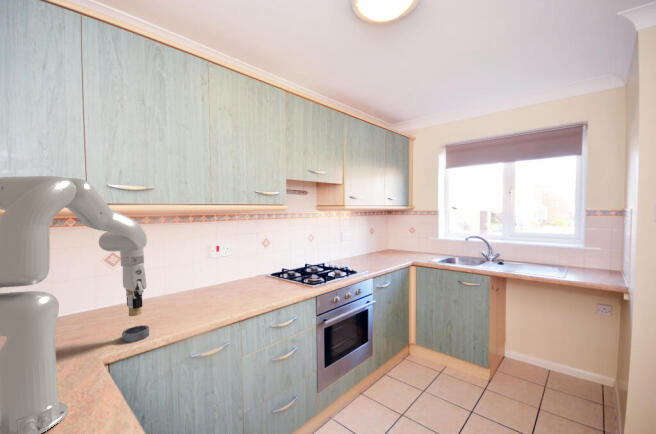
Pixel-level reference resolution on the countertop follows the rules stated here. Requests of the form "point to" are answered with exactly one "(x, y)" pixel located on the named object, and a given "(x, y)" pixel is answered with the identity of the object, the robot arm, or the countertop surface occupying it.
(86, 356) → the countertop surface
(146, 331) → the socket collar
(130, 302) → the sprinkles bottle
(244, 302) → the countertop surface
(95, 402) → the countertop surface
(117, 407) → the countertop surface
